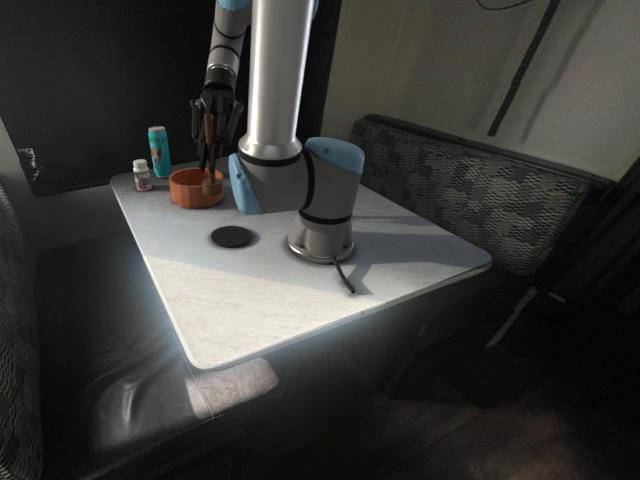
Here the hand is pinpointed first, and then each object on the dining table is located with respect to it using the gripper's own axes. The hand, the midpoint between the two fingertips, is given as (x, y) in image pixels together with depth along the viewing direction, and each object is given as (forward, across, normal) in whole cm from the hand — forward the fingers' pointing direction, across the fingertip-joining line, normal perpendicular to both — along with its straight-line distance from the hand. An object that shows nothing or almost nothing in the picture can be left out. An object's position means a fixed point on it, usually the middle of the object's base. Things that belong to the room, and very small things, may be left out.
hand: (206, 170), depth 79 cm
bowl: (-1, +8, -21) cm, 22 cm away
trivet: (+14, -7, -6) cm, 17 cm away
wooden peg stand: (+2, 0, -8) cm, 8 cm away
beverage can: (-12, +26, -32) cm, 42 cm away
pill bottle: (-4, +27, -24) cm, 36 cm away
